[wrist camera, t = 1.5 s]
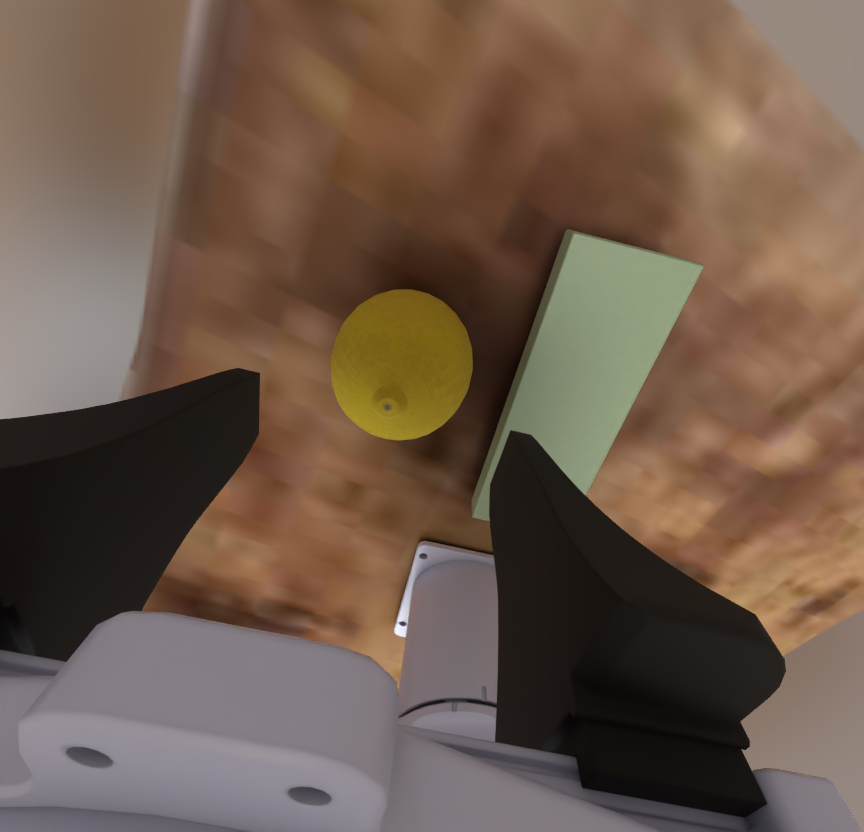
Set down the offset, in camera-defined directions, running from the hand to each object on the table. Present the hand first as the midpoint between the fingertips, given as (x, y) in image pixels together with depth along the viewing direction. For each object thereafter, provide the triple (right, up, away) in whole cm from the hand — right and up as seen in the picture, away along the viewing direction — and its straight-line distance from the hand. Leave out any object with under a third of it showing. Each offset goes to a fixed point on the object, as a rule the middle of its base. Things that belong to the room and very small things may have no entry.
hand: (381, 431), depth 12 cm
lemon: (+1, +5, +9) cm, 10 cm away
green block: (+8, +2, +9) cm, 12 cm away
